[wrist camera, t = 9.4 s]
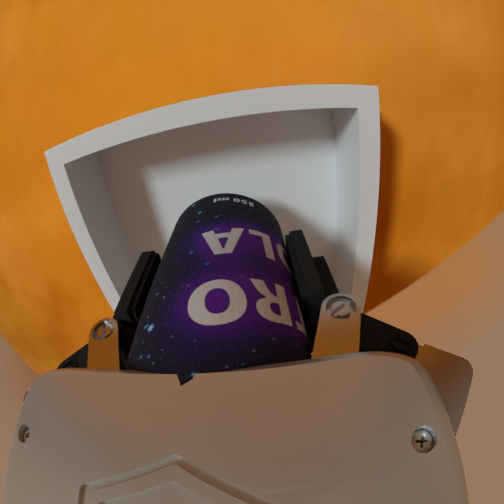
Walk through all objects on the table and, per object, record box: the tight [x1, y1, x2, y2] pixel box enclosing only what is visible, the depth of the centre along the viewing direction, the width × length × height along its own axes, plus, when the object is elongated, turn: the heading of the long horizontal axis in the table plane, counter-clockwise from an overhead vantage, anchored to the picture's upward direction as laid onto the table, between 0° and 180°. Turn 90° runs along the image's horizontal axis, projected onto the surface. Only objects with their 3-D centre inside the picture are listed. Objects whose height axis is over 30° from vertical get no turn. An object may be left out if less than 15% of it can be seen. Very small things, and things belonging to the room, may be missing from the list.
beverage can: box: [124, 193, 312, 386], centre depth 10 cm, size 6×6×12 cm
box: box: [45, 84, 380, 313], centre depth 15 cm, size 15×15×4 cm
